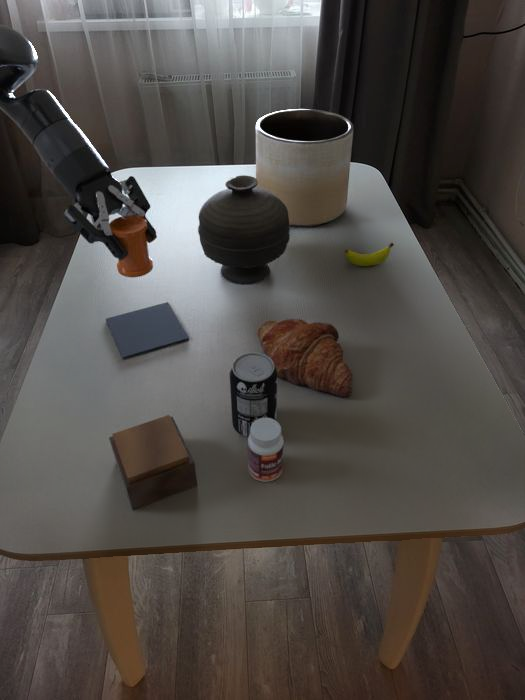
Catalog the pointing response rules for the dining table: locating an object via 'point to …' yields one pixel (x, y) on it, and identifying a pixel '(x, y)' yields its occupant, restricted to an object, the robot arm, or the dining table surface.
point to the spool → (132, 245)
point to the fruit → (368, 257)
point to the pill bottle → (265, 450)
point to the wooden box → (153, 461)
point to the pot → (244, 230)
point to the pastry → (307, 355)
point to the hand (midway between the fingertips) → (139, 248)
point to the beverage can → (252, 390)
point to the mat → (146, 330)
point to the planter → (305, 162)
